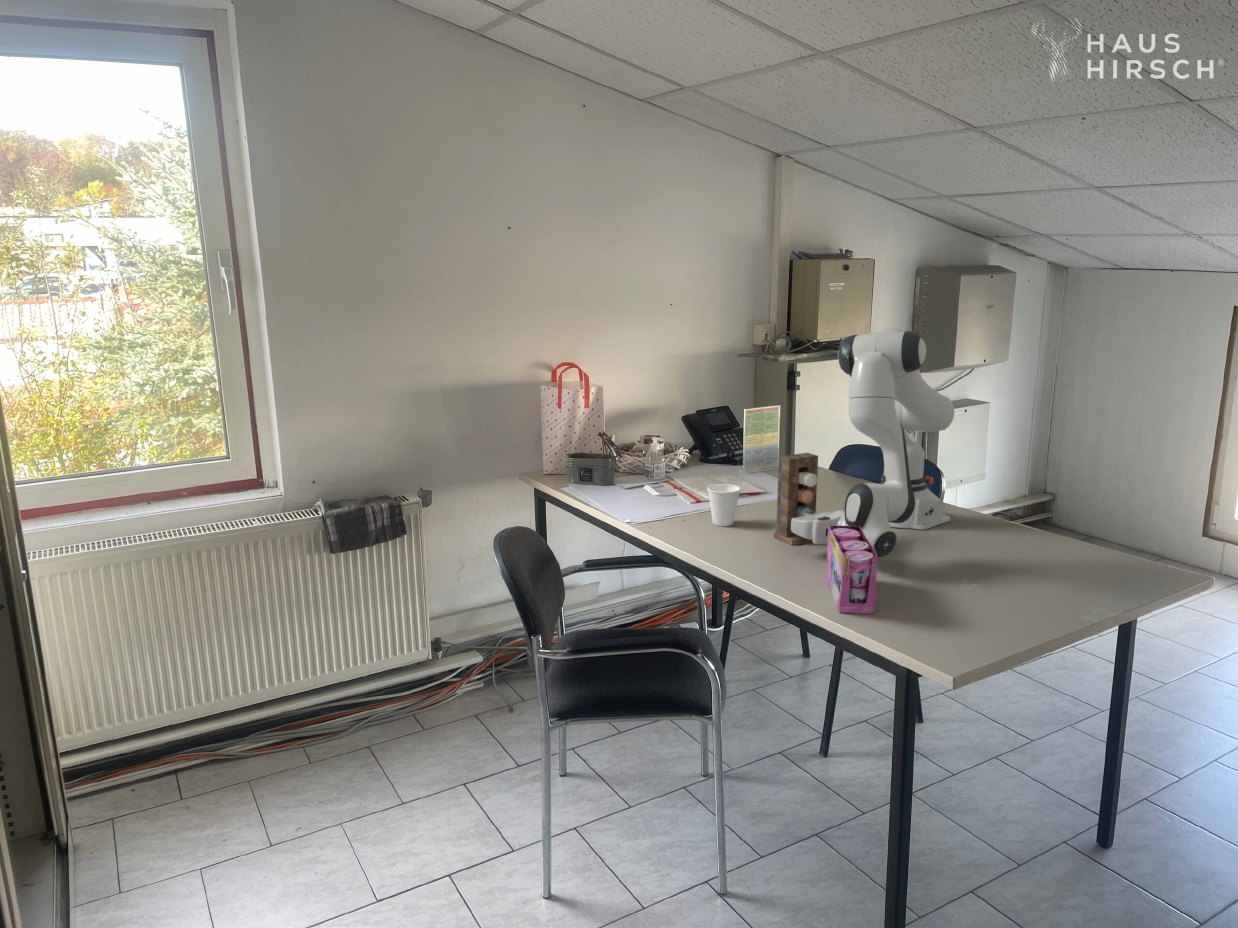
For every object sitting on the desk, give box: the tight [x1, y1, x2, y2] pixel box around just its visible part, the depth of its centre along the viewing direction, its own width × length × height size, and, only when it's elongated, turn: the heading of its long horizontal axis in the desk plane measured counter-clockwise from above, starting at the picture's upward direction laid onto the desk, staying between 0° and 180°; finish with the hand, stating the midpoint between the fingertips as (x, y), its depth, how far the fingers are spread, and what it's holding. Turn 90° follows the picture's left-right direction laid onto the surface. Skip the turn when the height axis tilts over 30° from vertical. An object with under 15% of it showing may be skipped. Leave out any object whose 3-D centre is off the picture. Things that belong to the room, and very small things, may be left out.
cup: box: [706, 483, 742, 527], centre depth 255 cm, size 10×10×11 cm
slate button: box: [797, 506, 812, 517], centre depth 238 cm, size 4×4×4 cm
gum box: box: [825, 525, 879, 615], centre depth 198 cm, size 24×8×14 cm, turn 174°
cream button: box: [798, 472, 818, 487], centre depth 235 cm, size 4×4×4 cm
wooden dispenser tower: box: [773, 452, 819, 546], centre depth 239 cm, size 10×8×24 cm
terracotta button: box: [797, 488, 813, 504], centre depth 237 cm, size 4×4×4 cm
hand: (807, 514), depth 237 cm, fingers closed, pressing on slate button
